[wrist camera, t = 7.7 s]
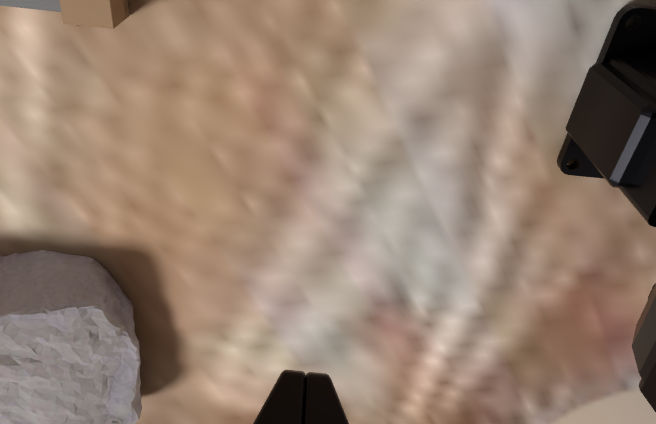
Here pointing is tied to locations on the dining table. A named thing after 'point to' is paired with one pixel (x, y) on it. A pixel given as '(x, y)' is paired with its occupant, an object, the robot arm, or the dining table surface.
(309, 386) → the robot arm
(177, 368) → the dining table surface
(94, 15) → the mat
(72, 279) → the stone block
